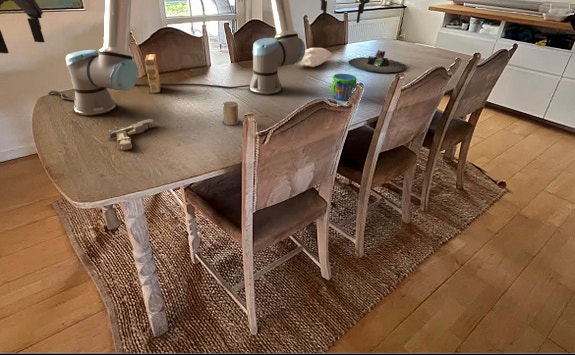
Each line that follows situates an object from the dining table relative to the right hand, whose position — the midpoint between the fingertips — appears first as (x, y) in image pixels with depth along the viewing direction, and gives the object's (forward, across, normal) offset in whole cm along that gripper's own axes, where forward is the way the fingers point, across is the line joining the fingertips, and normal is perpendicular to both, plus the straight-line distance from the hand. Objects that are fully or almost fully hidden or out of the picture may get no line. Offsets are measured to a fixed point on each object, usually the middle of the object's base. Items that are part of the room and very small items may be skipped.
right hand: (340, 20), depth 145 cm
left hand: (+2, -79, -74) cm, 108 cm away
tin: (+36, -34, -33) cm, 60 cm away
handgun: (+36, -61, -57) cm, 91 cm away
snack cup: (+36, +3, +11) cm, 37 cm away
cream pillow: (+36, -27, +61) cm, 75 cm away
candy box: (+36, -83, -12) cm, 91 cm away
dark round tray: (+36, +14, +76) cm, 85 cm away
